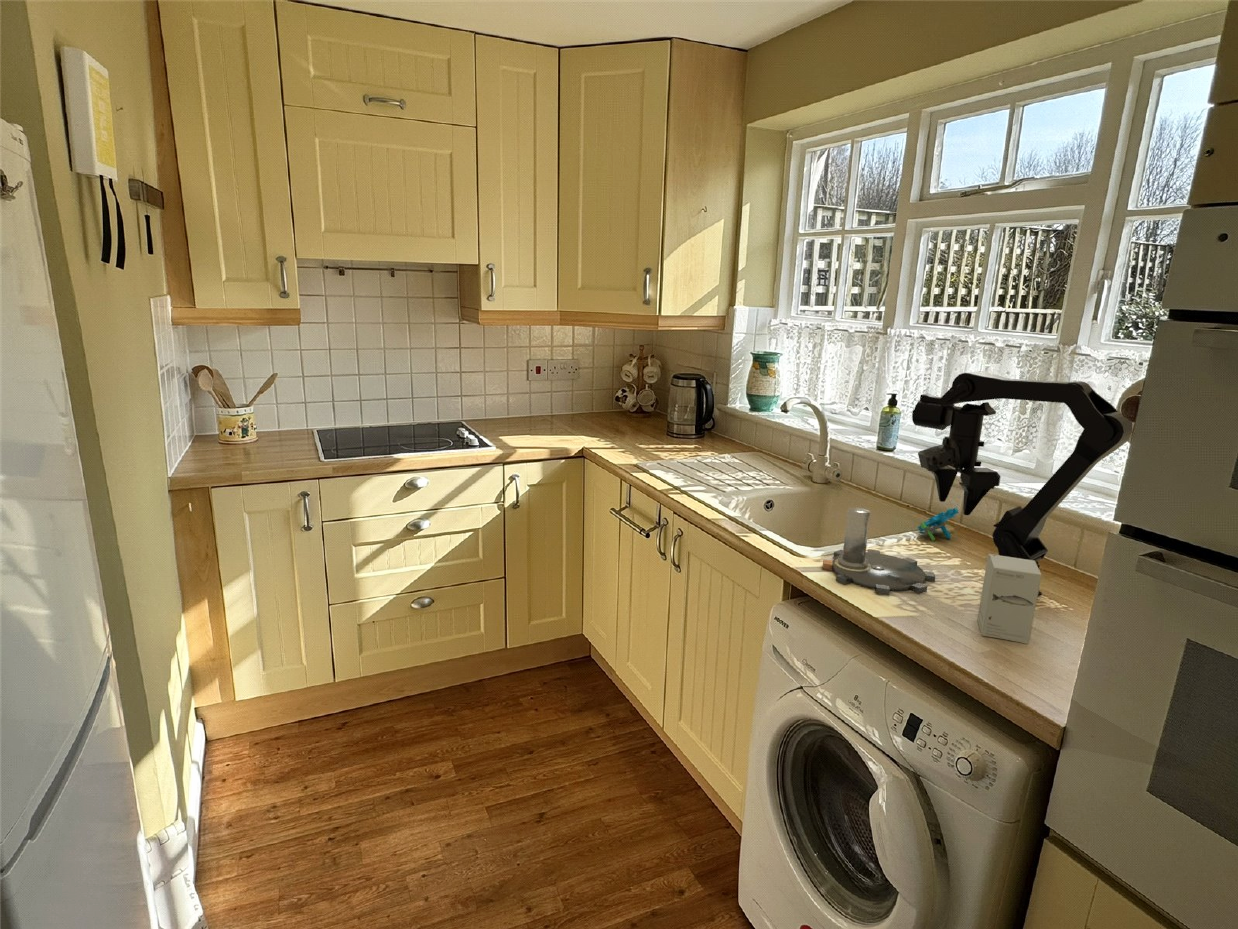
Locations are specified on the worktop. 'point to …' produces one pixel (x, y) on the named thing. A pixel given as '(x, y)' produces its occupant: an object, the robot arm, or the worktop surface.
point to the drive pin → (855, 539)
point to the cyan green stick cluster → (938, 523)
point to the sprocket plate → (883, 573)
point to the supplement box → (1009, 598)
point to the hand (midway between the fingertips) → (953, 508)
